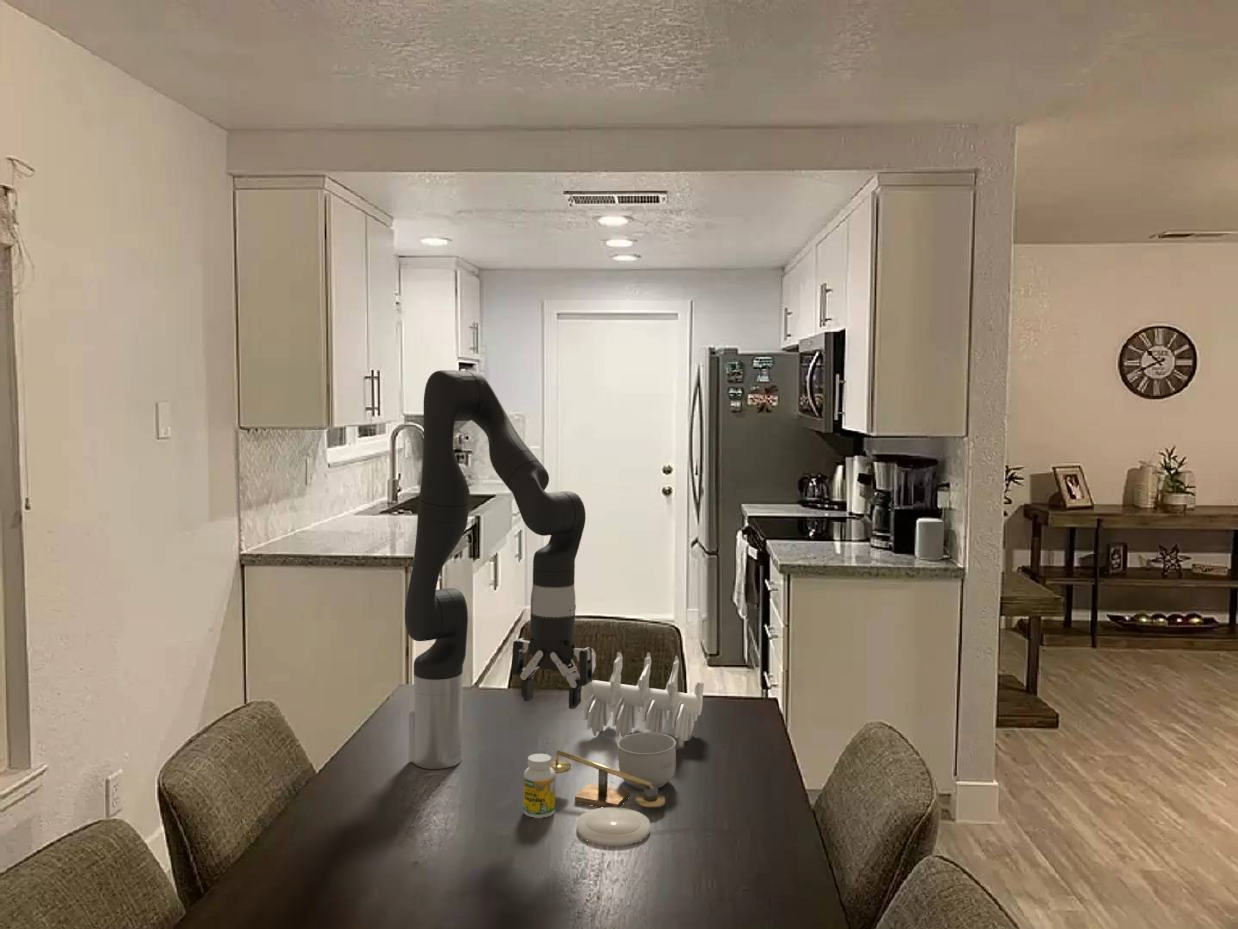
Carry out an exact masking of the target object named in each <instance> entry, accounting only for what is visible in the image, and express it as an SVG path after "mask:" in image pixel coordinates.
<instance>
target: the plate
mask: <svg viewBox="0 0 1238 929" xmlns="http://www.w3.org/2000/svg"><path fill="white" fill-rule="evenodd" d="M650 831H651V822H650V819H649V818H648V817H647V816H646V815H645V814H643V813H642V812H639V811H637V810H633V809H630V808H625V807H621V808H619V807H605V808H599V807H597V808H593V809H590V810H588V811H586V812H584V813H582V814H580V815H579V817H577V820H576V833H577V835H580V836H581V837H582V840H584V839H585V841H586V840H588V841H590V842H589V843H591V842H593V843H592V844H594V843H595V845H597V846H603V845H604V846H605V847H624V845H626V846H630V845H629V844H631V845H634V844H633V843H635V844H637V842H638V843H640V842H641V841H640V840H642V841H643V839H644V838H645V839H646V838H647V837H648V836H649V835H650V833H649V832H650ZM648 834H649V835H648ZM647 835H648V836H647ZM580 836H579V837H580ZM581 837H580V838H581ZM645 839H644V840H645ZM588 841H587V842H588ZM639 841H640V842H639ZM599 844H600V845H599ZM604 846H603V847H604Z"/></svg>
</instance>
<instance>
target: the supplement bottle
mask: <svg viewBox="0 0 1238 929" xmlns="http://www.w3.org/2000/svg"><path fill="white" fill-rule="evenodd" d="M551 760H552V756H550V755H549V754H545V753H533V754H530V755H529V756H527V768H526V769H525V770H524V771H523V772H524V773H523V813H524V815H525V816H527V817H529V816H530V817H529V818H531V817H534V818H533V819H544V818H543V817H546V818H549V817H551V816H552V815H553V814H554V813H555V811H556V773H555V771H554V770H553V768H551ZM548 816H549V817H548Z"/></svg>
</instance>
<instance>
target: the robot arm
mask: <svg viewBox="0 0 1238 929" xmlns="http://www.w3.org/2000/svg"><path fill="white" fill-rule="evenodd" d="M425 384H426V385H425V388H424V394H423V450H422V451H423V455H422V466H421V467H422V468H421V469H422V471H421V482H420V483H421V484H420V490H419V497H418V506H417V508H418V509H417V520H416V521H417V522H416V535H415V546H414V554H413V561H412V562H413V563H412V568H411V572H410V573H411V574H410V578H409V583H408V587H407V588H408V589H407V593H406V594H407V595H406V600H405V608H404V622H405V623H404V624H405V628H406V632H407V634H408V636H409V637H410V638H411V639H412V640H414V641H415V642H427V641H433V640H434V643H433V644H432V645H431V646H430V647H429V648H428V649H427V650H425V651H424V652H422V653H421V654H419V655H418V656H417V657H416V658H415V659H414V661H413V708H412V709H413V710H412V711H411V712H409V713H408V762H409V763H413V764H414V765H415V766H417V767H420V768H423V769H428V770H429V769H430V770H439V769H440V770H441V769H448V768H451V767H454V766H457V765H458V764H460V763H461V761H462V756H463V755H462V754H463V747H462V746H463V676H464V674H463V672H464V671H463V669H464V667H463V666H464V662H465V659H466V655H467V638H468V637H467V636H468V624H469V623H468V622H469V621H468V620H469V615H468V614H469V613H468V606H467V605H468V604H467V601H466V597H465V596H464V594H463V593H462V592H461V591H460V590H459V589H458V588H455V587H454V588H453V587H449V588H442V589H441V588H440V589H437V586H438V582H439V578H440V574H441V572H442V569H443V568H444V565H445V564H446V562H447V561H448V558H449V557H450V555H451V554H452V553H453V551H454V549H455V548H456V547H457V546H458V544H459V542H460V540H462V537H463V535H464V534H465V531H466V529H467V526H468V520H469V511H470V510H469V509H470V499H471V494H470V492H471V491H470V486H469V484H468V482H467V478H466V476H465V475H464V472H463V471H462V468H461V465H460V464H459V462H458V459H457V457H456V455H455V454H456V453H455V447H454V429H455V424H456V423H455V422H468V421H472V422H473V423H475V424H476V425H477V426H478V427H479V428H480V429H481V430H482V431H483V432H484V434H485V435H486V437H487V440H488V452H489V459H490V463H491V465H492V468H493V469H494V471H495V472H496V474H497V476H498V477H499V478H500V480H501V481H502V483H504V485H505V486H506V487H507V488H508V489H509V491H510V492H511V493H512V494H513V498H514V501H515V503H516V506H517V509H518V510H519V513H520V516H521V519H522V521H523V524H525V526H526V527H527V528H528V529H529V530H530V531H531V532H532V533H534V534H536V535H538V536H543V537H545V536H550V537H549V540H548V542H547V544H546V545H544V546H543V547H541V548H539V549H538V550H536V552H534V555H533V558H532V559H533V560H532V588H531V593H530V616H529V617H530V622H529V623H530V624H529V625H530V626H529V635H530V640H527V639H526V638H525V637H521V638H518V639H516V640H514V641H513V643H512V651H511V652H512V653H511V654H512V655H511V666H510V668H511V669H510V672H511V674H512V675H514V676H517V677H519V678H520V680H521V684H520V685H521V688H520V689H521V692H520V694H521V698H523V701H524V702H530V701H532V700H533V699H534V686H535V684H534V681H535V680H534V677H532V676H534V674H535V673H536V671H537V670H538V669H539V668H540V670H543V671H545V670H550V671H552V672H560V674H561V675H562V677H563V678H565V679H566V681H567V683H568V684H569V685H570V686H569V687H568V709H569V710H575V709H576V708H577V707H578V706H579V705H580V704H581V703H582V696H581V690H582V686H585V685H587V684H588V683H590V682H591V681H592V680H594V679H593V675H594V674H592V650H591V647H589V646H587V647H585V648H579V647H576V645H575V632H576V629H575V628H576V610H577V609H576V608H577V605H576V589H575V570H576V569H575V568H576V565H575V564H576V563H575V561H576V557H577V555H578V552H579V548H580V545H581V541H582V540H581V539H582V537H583V533H584V528H585V524H586V509H585V505H584V501H583V500H582V498H581V497H580V495H578V494H577V493H576V492H573V491H568V490H567V491H566V490H564V491H556V492H555V491H554V492H553V491H552V492H546V491H545V490H546V488H547V487H548V485H549V483H550V482H549V481H550V476H549V473H548V471H547V469H546V468H545V466H543V464H542V462H540V461H539V459H538V458H537V457H536V455H534V453H533V452H532V451H531V450H530V448H529V447H528V446H527V444H526V443H525V442H524V441H523V439H522V438H521V437H520V435H519V434H518V432H517V430H516V429H515V427H514V426H513V423H512V422H511V420H510V418H509V416H508V415H507V413H506V411H505V409H504V407H503V406H502V404H501V402H500V400H499V398H498V397H497V395H496V393H495V391H494V390H493V388H492V386H491V385H490V383H489V382H488V381H487V379H486V378H485V377H484V376H483V375H482V374H481V373H480V372H478V371H474V370H454V369H453V370H452V369H451V370H449V369H446V370H444V369H443V370H441V369H440V370H436V371H434V372H433V373H431V374H430V376H429V377H428V379H427V381H426V383H425ZM528 651H529V652H530V654H531V656H532V658H531V659H530V661H529V662H528V663H527V664H526V666H525V660H526V652H528ZM574 656H575V657H576V660H577V661H578V663H579V664H578V665H579V671H578V667H577V666H576V663H575V662H574V660H573V658H574Z"/></svg>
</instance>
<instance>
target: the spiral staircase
mask: <svg viewBox="0 0 1238 929" xmlns="http://www.w3.org/2000/svg"><path fill="white" fill-rule="evenodd" d="M590 648H591V647H590ZM591 650H592V675H594V674H593V673H594V672H595V668H596V666H597V663H596V656H597V654H596V652H595V650H594V648H591ZM623 658H624V656H623V654H622V653H621V652H620V651H617V654H616V657H615V660H614V661H613V670H612V674H611V675H610V679H609V681H602V680H597V679H596V680H595V679H593V680H592V681H591V682H590V683H588V684H587V685H585V686H581V700H582V701H583V702H584V708H583V709H584V711H583V718H582V719H583V720H584V721H587V722H586V729H587V730H590V729H591V731H592V735H593V736H594V737H596V736H597V733H598V732H599V733H601V732H602V731H604V727H607V726H608V723H609V722H610V718H611V716H612V715H613V716H612V725H611V726H612V727H615V730H616V731H615V733H616V734H615V735H616V736H619V735H620V737H621V738H623V737H625V736H627V735H630V734H631V733H632V729H635V728H636V725H637V723H638V720H639V717H640V714H641V713H642V717H641V722H643V723H645V728H644V730H650V732H651V733H661V734H663V731H664V728H665V726H666V721H669V717H670V712H671V714H672V720H671V729H675V730H674V731H675V732H674V739H678V743H679V746H683V742H686V741H688V740H689V739H688V737H690V736H692V732H693V729H694V726H695V722H697V720H698V716H701V714H702V709H703V701H704V699H703V698H704V697H703V694H704V686H705V683H704V682H696V684H695V687H694V691H692V693H687V692H686V693H685V692H680V691H678V676H679V675H678V674H679V666H680V659H679V657H678V655H674V661H673V663H672V671H671V672H670V673H671V674H670V677H669V678H668V681H667V682H666V686H665V689H660V688H653V687H650V675H651V666H652V657H651V653H650V652H647V653H646V657H645V658H644V664H643V670H642V673H641V675H640V677H638V679H637V684H636V685H630V684H623V683H621V681H622V674H621V673H622V669H623Z"/></svg>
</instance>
